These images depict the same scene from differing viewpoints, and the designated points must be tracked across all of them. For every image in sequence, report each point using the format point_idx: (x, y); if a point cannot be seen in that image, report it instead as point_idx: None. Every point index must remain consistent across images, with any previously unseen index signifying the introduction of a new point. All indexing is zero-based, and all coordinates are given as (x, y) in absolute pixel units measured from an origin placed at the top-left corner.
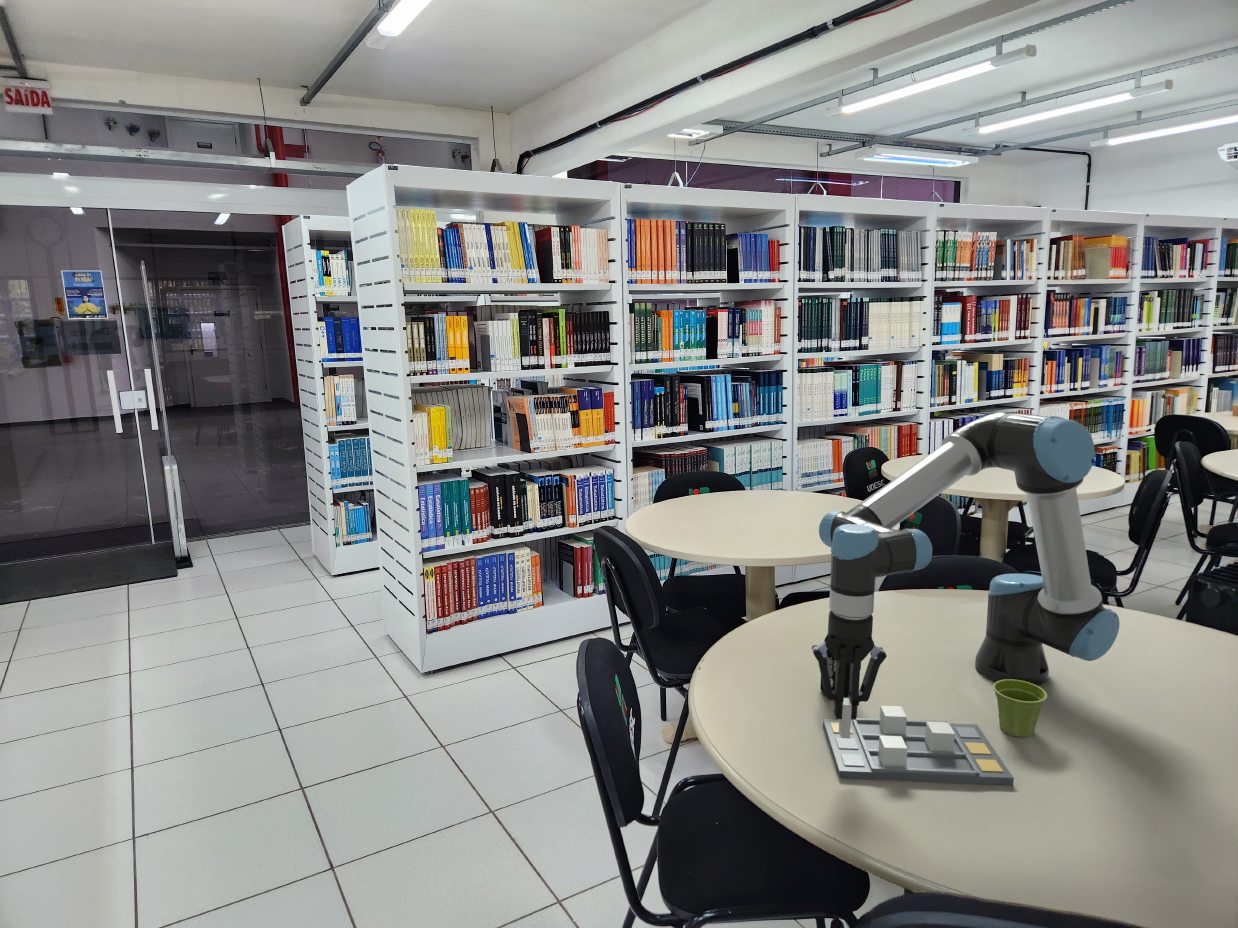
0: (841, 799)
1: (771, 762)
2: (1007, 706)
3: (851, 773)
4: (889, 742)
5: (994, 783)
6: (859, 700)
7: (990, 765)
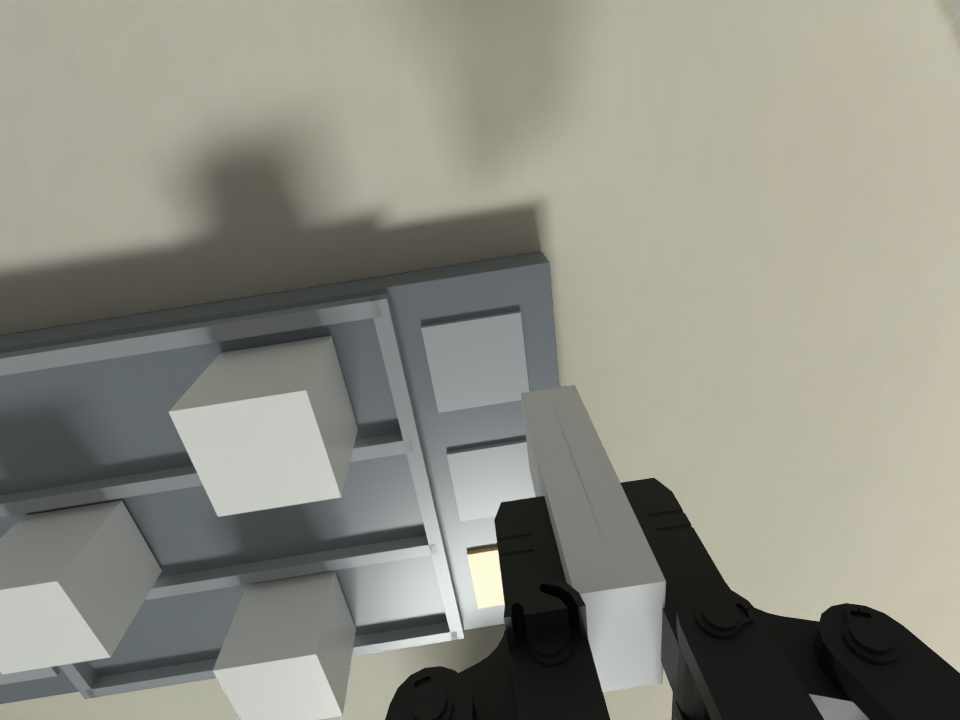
0: (547, 58)
1: (829, 307)
2: None
3: (487, 267)
4: (280, 445)
5: None
6: (492, 672)
7: None
